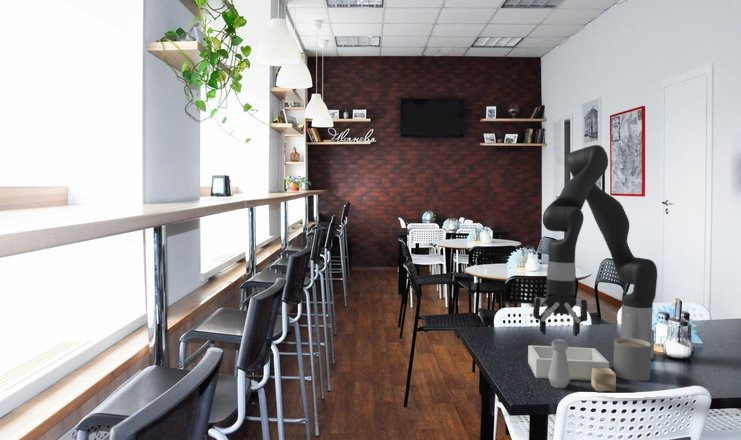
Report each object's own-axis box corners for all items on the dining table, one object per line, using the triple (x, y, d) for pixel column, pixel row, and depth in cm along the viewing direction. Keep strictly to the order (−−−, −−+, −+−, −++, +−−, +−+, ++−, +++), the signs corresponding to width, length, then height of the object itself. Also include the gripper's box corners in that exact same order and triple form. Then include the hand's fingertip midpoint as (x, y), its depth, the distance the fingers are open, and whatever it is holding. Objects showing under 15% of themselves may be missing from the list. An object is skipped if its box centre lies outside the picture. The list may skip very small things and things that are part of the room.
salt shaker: (571, 390, 146) (572, 343, 145) (549, 388, 147) (550, 342, 146) (567, 383, 151) (568, 338, 151) (546, 381, 153) (547, 337, 152)
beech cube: (609, 385, 150) (610, 368, 150) (615, 392, 145) (616, 374, 145) (591, 384, 150) (591, 367, 150) (596, 391, 145) (596, 373, 145)
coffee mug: (641, 383, 152) (642, 349, 151) (607, 374, 159) (608, 341, 159) (660, 373, 160) (661, 341, 160) (627, 365, 168) (628, 334, 167)
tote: (594, 365, 167) (594, 348, 167) (608, 381, 153) (609, 362, 153) (528, 362, 170) (528, 345, 170) (536, 377, 156) (536, 359, 155)
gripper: (584, 276, 151) (582, 332, 151) (532, 274, 153) (530, 330, 153) (591, 280, 143) (589, 339, 144) (537, 278, 145) (535, 337, 146)
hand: (559, 334), depth 149 cm, fingers open, 8 cm apart
